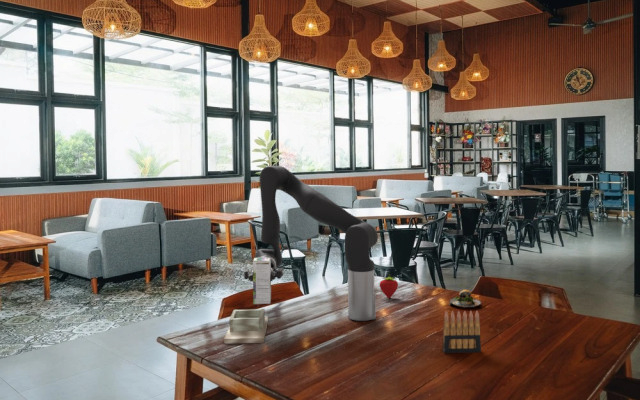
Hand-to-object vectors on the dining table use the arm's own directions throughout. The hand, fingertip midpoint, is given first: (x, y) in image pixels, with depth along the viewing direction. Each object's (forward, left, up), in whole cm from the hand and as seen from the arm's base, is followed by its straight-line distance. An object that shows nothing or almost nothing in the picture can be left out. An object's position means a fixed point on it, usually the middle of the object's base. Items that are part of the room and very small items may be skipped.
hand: (261, 278), depth 171 cm
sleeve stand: (+5, 0, -18) cm, 18 cm away
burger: (-75, -24, -18) cm, 81 cm away
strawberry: (-48, -37, -18) cm, 63 cm away
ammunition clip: (-59, +23, -18) cm, 66 cm away
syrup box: (0, -3, -9) cm, 9 cm away
